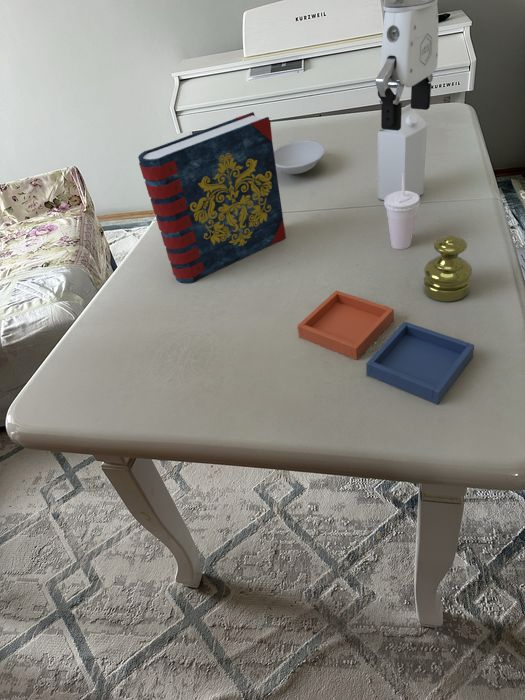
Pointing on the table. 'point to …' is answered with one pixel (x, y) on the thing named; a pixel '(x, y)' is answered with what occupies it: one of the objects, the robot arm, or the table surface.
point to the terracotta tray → (346, 324)
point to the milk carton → (402, 155)
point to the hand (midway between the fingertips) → (405, 118)
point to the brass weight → (448, 271)
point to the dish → (298, 156)
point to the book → (215, 195)
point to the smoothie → (401, 216)
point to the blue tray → (420, 361)
